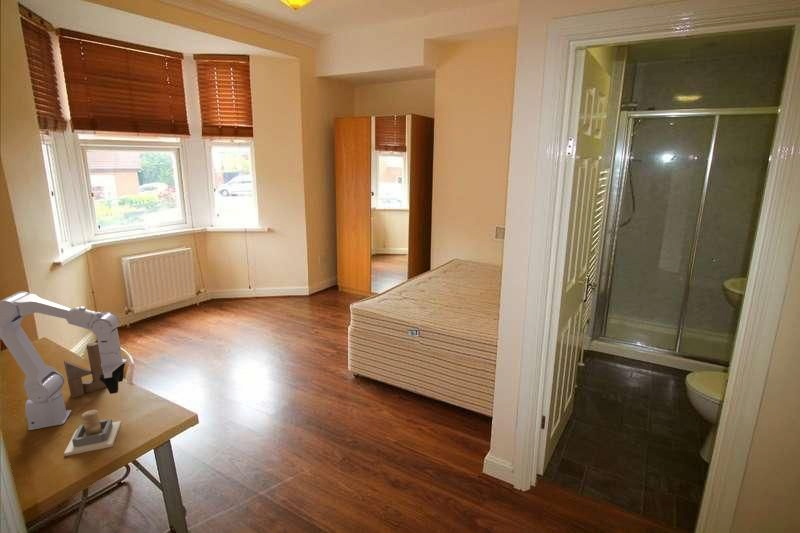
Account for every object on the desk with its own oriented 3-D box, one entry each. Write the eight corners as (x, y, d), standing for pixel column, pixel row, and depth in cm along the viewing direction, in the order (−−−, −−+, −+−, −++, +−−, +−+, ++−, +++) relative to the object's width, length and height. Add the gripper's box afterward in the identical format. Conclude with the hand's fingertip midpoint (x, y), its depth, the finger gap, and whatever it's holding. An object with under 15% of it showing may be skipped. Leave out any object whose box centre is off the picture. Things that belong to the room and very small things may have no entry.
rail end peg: (84, 441, 128) (80, 418, 126) (88, 433, 131) (83, 411, 129) (100, 438, 129) (96, 415, 127) (103, 430, 133) (99, 408, 131)
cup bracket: (64, 456, 123) (62, 445, 122) (77, 431, 134) (75, 422, 133) (112, 446, 127) (110, 436, 127) (121, 423, 138) (119, 414, 137)
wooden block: (70, 394, 154) (61, 350, 149) (104, 383, 162) (97, 340, 157) (72, 398, 152) (63, 353, 147) (107, 387, 159) (99, 343, 155)
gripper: (119, 357, 132) (126, 395, 135) (128, 339, 145) (134, 374, 148) (92, 361, 129) (100, 400, 133) (104, 342, 142) (110, 378, 146)
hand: (116, 387), depth 140 cm, fingers open, 7 cm apart
